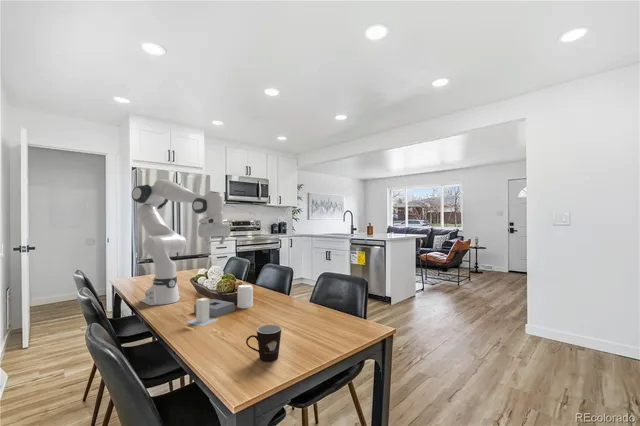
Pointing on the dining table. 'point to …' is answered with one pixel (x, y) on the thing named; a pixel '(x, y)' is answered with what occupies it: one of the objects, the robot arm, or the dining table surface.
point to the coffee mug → (267, 342)
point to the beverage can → (245, 296)
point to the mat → (203, 322)
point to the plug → (202, 310)
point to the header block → (219, 307)
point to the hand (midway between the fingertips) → (215, 244)
